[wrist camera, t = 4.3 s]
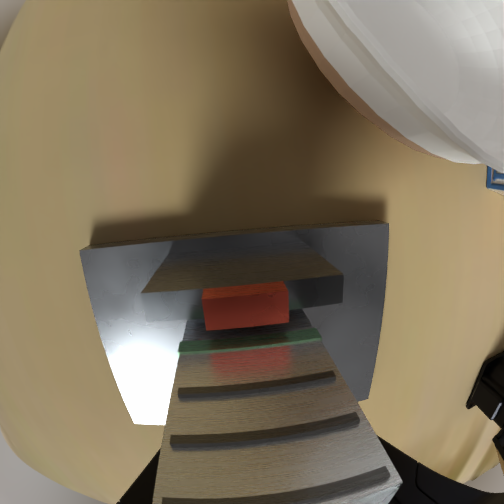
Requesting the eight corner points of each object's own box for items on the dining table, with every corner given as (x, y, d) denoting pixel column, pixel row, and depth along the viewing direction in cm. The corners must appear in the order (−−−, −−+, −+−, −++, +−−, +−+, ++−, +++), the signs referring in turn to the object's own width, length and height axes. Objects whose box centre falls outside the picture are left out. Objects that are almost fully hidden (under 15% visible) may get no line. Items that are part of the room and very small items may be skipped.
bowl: (220, -27, 11) (224, -117, 3) (413, -33, 11) (464, -74, 3) (331, 208, 15) (425, 237, 7) (496, 142, 15) (574, 143, 7)
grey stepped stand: (378, 220, 15) (464, 248, 8) (361, 388, 18) (404, 456, 11) (88, 245, 14) (12, 290, 7) (137, 412, 17) (116, 489, 10)
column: (295, 292, 11) (408, 477, 3) (295, 392, 12) (350, 550, 4) (188, 302, 11) (144, 515, 3) (207, 402, 12) (207, 570, 4)
